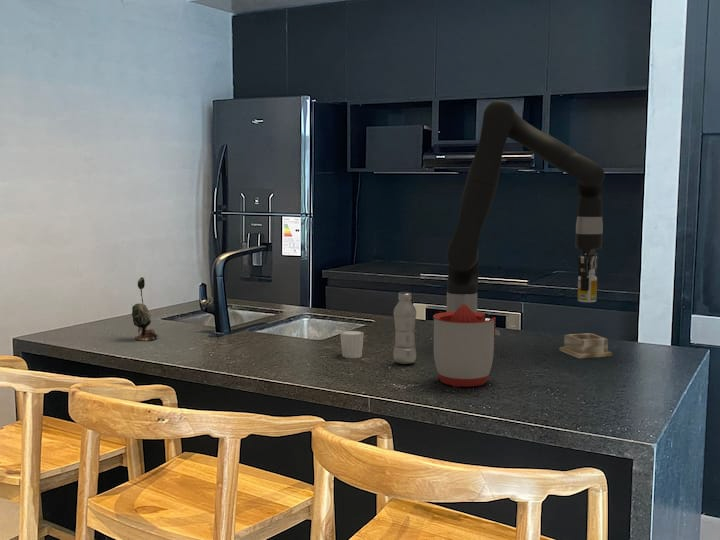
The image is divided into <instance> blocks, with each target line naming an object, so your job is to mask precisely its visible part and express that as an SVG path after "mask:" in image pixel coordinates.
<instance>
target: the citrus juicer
mask: <svg viewBox="0 0 720 540" xmlns="http://www.w3.org/2000/svg"><path fill="white" fill-rule="evenodd" d="M432 317H433V358H434V364H435V367H436V372H437V376H438V378H439V381H440V382H441V383H442V384H445V385H447V386H452V387H453V388H461V387H477V386H483V385H484V384H486V383H487V381H488V380H489V376H490V375H491V374H490V372H491V369H492V366H493V365H492V364H493V362H494V361H493V360H494V350H495V338H496V336H501V332H500V331H499V330H498V329H496V321H497V320H496V317H495V316H494V317H492V318H489V319H488V320H486V313H483V312H478V311H477V312H472V310H471V309H470V308H469V307H468V306H467V305H465V304H464V305H462V306H461V307H459V308H458V309H457V311H456V312H447V311H443V312H439V313H438V312H437V313H435V314H434V315H433V316H432Z"/></svg>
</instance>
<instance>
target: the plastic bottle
mask: <svg viewBox="0 0 720 540" xmlns="http://www.w3.org/2000/svg"><path fill="white" fill-rule="evenodd" d="M412 295H413V294H412V292H409V291H399V292H398V297H397V299H398V302H397V304H396V305H395V307H394V309H393V317H394V318H393V319H394V326H395V327H394V328H395V329H394V330H395V339H394V347H393V354H392V355H393V360H394V362H396V364H400V365H401V364H402V365H408V364H414V363H415V361H416V359H417V350H416V342H415V327H416V319H417V310H416V307H415V305H414V303H413V302H412V299H413V297H412Z"/></svg>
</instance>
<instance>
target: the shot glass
mask: <svg viewBox="0 0 720 540" xmlns="http://www.w3.org/2000/svg"><path fill="white" fill-rule="evenodd" d="M339 334H340V343H341V344H340V346H341V354H342V357H343V358H344V357H345V359H359V358H361V357H362V355H363V343H364V332H363V331H360V330H346V331H345V330H343V331H341V332H339Z"/></svg>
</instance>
